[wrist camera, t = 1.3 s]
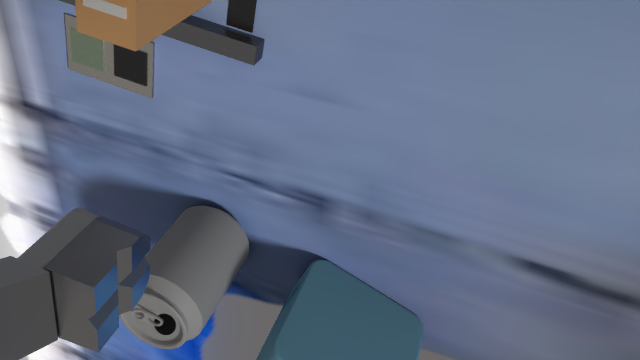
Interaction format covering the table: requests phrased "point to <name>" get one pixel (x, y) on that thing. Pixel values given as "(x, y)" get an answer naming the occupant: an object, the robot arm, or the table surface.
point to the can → (188, 276)
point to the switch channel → (139, 65)
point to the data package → (341, 321)
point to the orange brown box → (132, 19)
